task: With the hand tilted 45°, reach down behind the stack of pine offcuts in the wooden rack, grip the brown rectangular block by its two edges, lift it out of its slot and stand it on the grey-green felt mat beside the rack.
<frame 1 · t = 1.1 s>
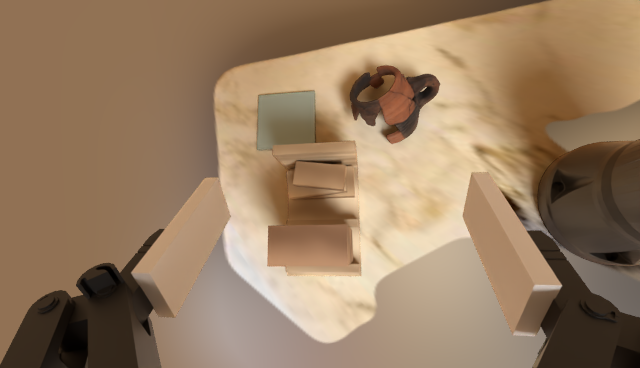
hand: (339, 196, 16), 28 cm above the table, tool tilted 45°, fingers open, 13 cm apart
felt mat: (286, 121, 48), on the table
rack: (324, 217, 44), on the table
brown rectangular block: (323, 245, 42), point 1 cm above the table, touching rack
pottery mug: (392, 111, 46), on the table
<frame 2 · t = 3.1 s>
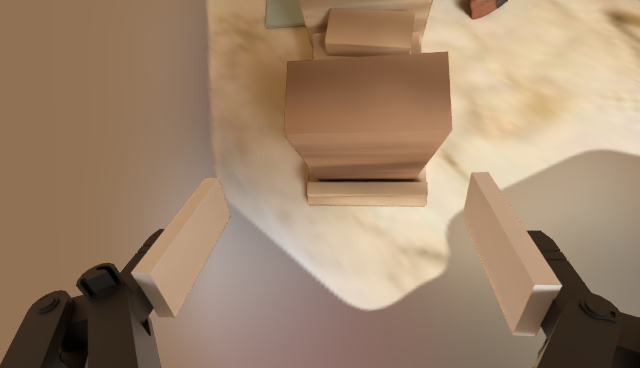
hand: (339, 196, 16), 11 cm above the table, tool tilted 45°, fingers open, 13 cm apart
rack: (365, 120, 29), on the table
brown rectangular block: (365, 158, 27), point 1 cm above the table, touching rack
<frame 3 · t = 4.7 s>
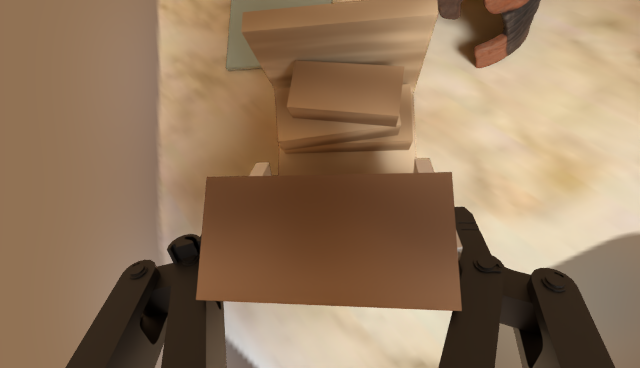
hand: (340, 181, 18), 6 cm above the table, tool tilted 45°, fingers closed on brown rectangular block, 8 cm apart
felt mat: (280, 20, 27), on the table
rack: (346, 188, 23), on the table
brown rectangular block: (345, 242, 21), point 1 cm above the table, touching gripper, rack
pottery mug: (476, 12, 25), on the table
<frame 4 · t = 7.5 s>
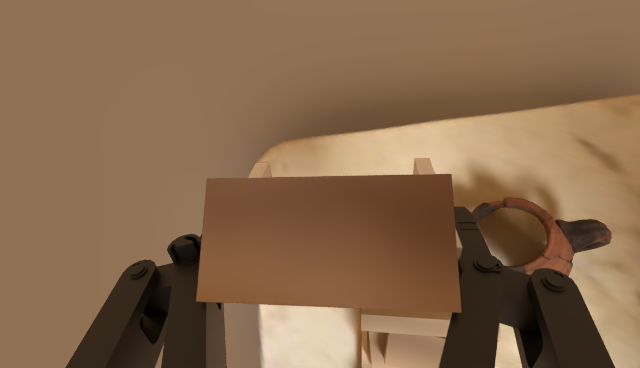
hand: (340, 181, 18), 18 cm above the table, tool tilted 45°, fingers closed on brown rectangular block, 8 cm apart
brown rectangular block: (345, 243, 21), point 13 cm above the table, touching gripper
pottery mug: (513, 248, 32), on the table
when the fingers open (6 cm above the table, at t = 10.3 s): brown rectangular block drops 1 cm, resting on felt mat.
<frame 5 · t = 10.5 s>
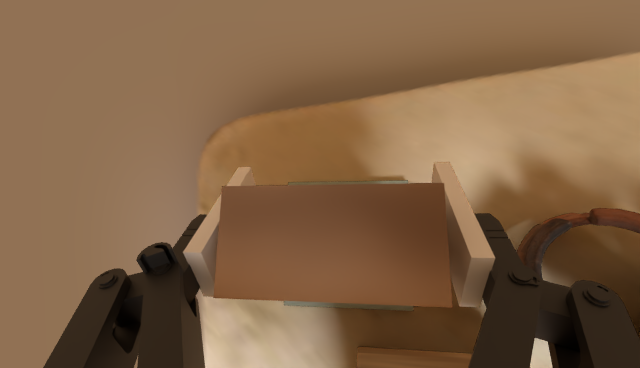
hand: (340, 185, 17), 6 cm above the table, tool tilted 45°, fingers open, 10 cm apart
felt mat: (346, 242, 23), on the table
brown rectangular block: (347, 243, 22), resting on felt mat
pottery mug: (595, 285, 20), on the table
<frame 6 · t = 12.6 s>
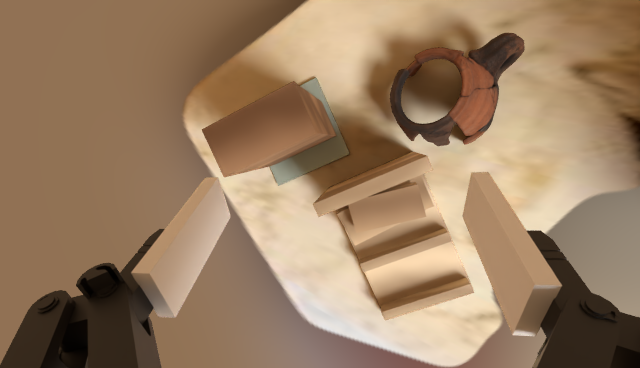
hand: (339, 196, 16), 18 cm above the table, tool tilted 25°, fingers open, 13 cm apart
felt mat: (297, 133, 35), on the table
rack: (398, 235, 34), on the table
brown rectangular block: (297, 134, 34), resting on felt mat
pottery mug: (449, 96, 32), on the table
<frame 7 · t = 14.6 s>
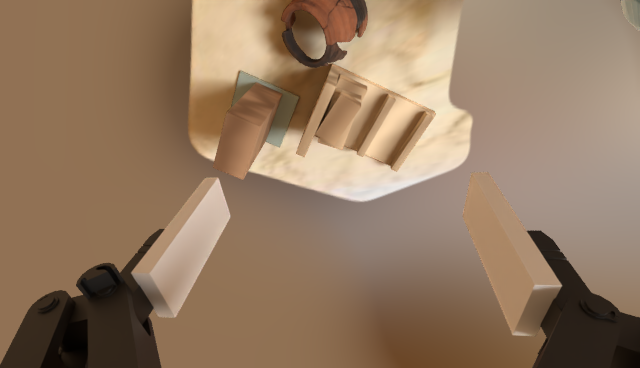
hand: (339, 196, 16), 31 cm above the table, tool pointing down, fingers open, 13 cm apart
felt mat: (261, 110, 47), on the table
rack: (367, 118, 46), on the table
brown rectangular block: (262, 112, 47), resting on felt mat
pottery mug: (328, 10, 39), on the table
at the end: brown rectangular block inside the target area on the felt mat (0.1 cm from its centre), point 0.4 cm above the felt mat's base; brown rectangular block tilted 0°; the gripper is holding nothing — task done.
